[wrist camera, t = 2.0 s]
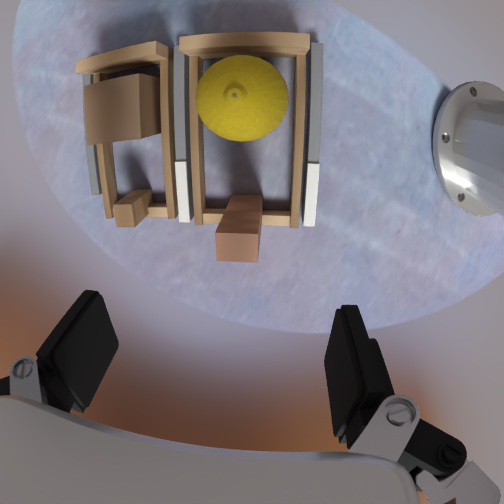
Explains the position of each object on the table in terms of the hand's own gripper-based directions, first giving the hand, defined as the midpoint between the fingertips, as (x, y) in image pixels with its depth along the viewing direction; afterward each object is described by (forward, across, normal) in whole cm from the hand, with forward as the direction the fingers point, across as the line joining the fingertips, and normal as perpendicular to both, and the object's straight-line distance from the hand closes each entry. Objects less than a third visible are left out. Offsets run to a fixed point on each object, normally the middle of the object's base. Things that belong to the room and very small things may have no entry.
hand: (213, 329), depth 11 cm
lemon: (+14, 0, -8) cm, 17 cm away
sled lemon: (+14, 0, -6) cm, 15 cm away
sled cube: (+14, +9, -6) cm, 18 cm away
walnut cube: (+14, +9, -8) cm, 19 cm away
